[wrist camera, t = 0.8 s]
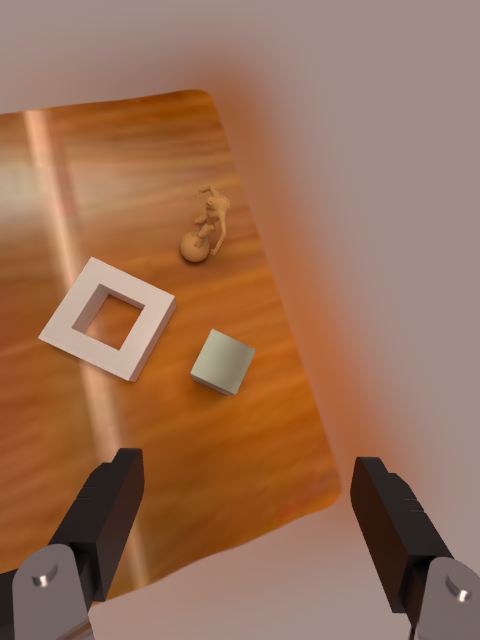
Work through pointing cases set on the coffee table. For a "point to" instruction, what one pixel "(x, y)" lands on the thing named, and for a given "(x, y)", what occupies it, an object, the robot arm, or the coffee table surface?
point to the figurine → (206, 227)
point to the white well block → (86, 303)
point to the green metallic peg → (222, 363)
